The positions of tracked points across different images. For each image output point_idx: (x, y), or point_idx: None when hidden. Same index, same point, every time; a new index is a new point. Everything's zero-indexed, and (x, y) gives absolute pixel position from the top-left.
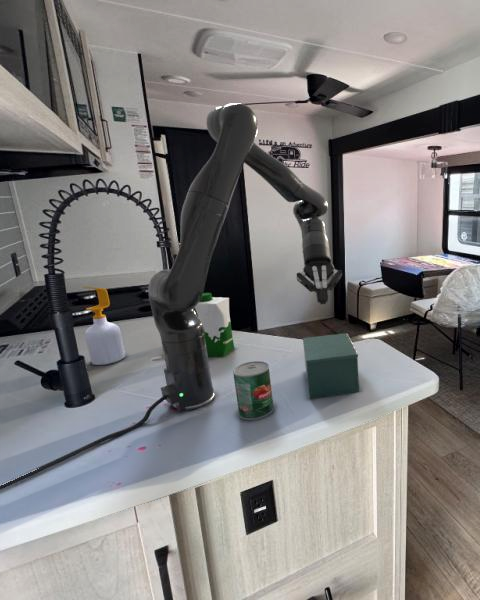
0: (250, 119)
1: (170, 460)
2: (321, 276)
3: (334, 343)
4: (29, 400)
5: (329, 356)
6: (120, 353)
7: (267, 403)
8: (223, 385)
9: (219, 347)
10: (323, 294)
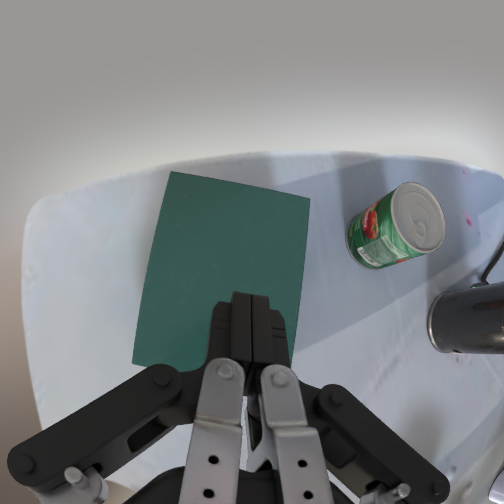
0: None
1: (441, 181)
2: (239, 477)
3: (202, 286)
4: None
5: (247, 193)
6: (499, 485)
7: (363, 211)
8: (415, 367)
9: None
10: (244, 321)
